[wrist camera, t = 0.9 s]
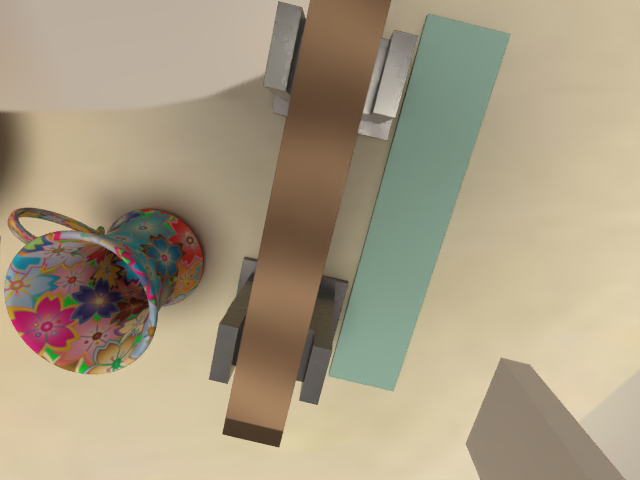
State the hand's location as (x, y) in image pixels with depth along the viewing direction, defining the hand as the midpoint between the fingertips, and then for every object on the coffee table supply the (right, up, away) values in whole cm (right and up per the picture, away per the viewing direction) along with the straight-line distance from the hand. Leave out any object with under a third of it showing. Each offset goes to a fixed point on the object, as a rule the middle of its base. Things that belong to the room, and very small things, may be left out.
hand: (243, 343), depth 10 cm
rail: (+1, +4, +14) cm, 15 cm away
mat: (+9, +4, +22) cm, 24 cm away
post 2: (-1, -3, +24) cm, 24 cm away
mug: (-13, +2, +24) cm, 27 cm away
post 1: (+3, +14, +19) cm, 24 cm away
